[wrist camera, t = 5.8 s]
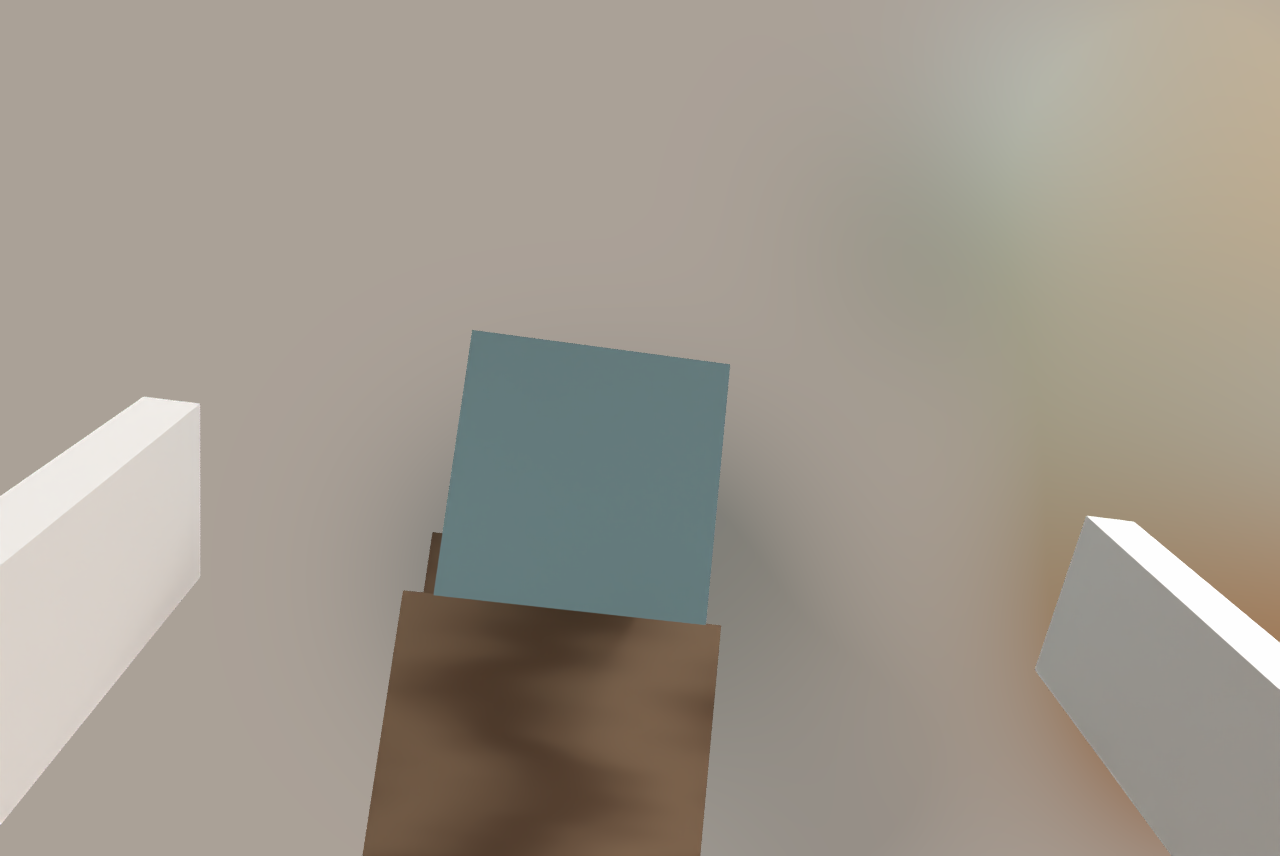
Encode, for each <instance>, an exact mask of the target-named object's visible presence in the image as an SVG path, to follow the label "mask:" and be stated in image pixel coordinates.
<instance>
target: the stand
mask: <svg viewBox="0 0 1280 856" xmlns="http://www.w3.org/2000/svg"><path fill="white" fill-rule="evenodd" d="M442 534H443V533H435V532H433V533H432V539H431V546H430V554H429V560H428V567H427V573H426V580H425V586H424V592H413V591H403V595H402V601H401V608H400V614H399V621H398V627H397V634H396V641H395V647H394V653H393V660H392V667H391V674H390V680H389V686H388V693H387V700H386V706H385V713H384V719H383V725H382V732H381V738H380V745H379V752H378V759H377V765H376V771H375V778H374V785H373V791H372V798H371V804H370V810H369V817H368V823H367V830H366V837H365V843H364V850H363V856H700V852H701V841H702V830H703V819H704V808H705V797H706V786H707V775H708V763H709V753H710V741H711V731H712V720H713V709H714V698H715V686H716V676H717V665H718V653H719V642H720V631H721V626H720V625H712V624H706V625H700V624H691V623H682V622H673V621H664V620H654V619H645V618H636V617H627V616H618V615H609V614H600V613H591V612H582V611H573V610H564V609H554V608H545V607H536V606H527V605H518V604H509V603H500V602H491V601H482V600H473V599H464V598H455V597H445V596H436V595H434V588H435V581H436V574H437V568H438V561H439V554H440V547H441V540H442Z"/></svg>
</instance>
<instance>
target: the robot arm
mask: <svg viewBox="0 0 1280 856" xmlns="http://www.w3.org/2000/svg"><path fill="white" fill-rule="evenodd" d="M199 578H200V404H198V403H190V402H182V401H174V400H166V399H158V398H150V397H142V398H141V399H140V400H138V401H137V402H135V403H134V404H132V405H131V406H129V407H128V408H127V409H125V410H124V411H122V412H121V413H120V414H118V415H117V416H115V417H114V418H112V419H111V420H109V421H108V422H106V423H105V424H104V425H102V426H101V427H99V428H98V429H96V430H95V431H94V432H92V433H91V434H89V435H88V436H86V437H85V438H83V439H82V440H81V441H79V442H78V443H76V444H75V445H73V446H72V447H70V448H69V449H68V450H66V451H65V452H63V453H62V454H60V455H59V456H57V457H56V458H55V459H53V460H52V461H50V462H49V463H47V464H46V465H44V466H43V467H42V468H40V469H39V470H37V471H36V472H34V473H33V474H32V475H30V476H29V477H27V478H26V479H24V480H23V481H21V482H20V483H19V484H17V485H16V486H14V487H13V488H11V489H10V490H8V491H7V492H6V493H4V494H3V495H1V496H0V824H2V822H3V821H4V820H5V819H6V817H7V816H8V815H9V814H10V812H11V811H12V810H13V809H14V807H15V806H16V805H17V804H18V802H19V801H20V800H21V799H22V797H23V796H24V795H25V794H26V793H27V791H28V790H29V789H30V788H31V786H32V785H33V784H34V782H35V781H36V780H37V779H38V778H39V776H40V775H41V774H42V773H43V771H44V770H45V769H46V768H47V766H48V765H49V764H50V763H51V761H52V760H53V759H54V758H55V757H56V755H57V754H58V753H59V752H60V750H61V749H62V748H63V747H64V745H65V744H66V743H67V742H68V740H69V739H70V738H71V737H72V735H73V734H74V733H75V732H76V730H77V729H78V728H79V727H80V725H81V724H82V723H83V722H84V721H85V719H86V718H87V717H88V715H89V714H90V713H91V712H92V711H93V709H94V708H95V707H96V706H97V704H98V703H99V702H100V701H101V699H102V698H103V697H104V696H105V694H106V693H107V692H108V691H109V689H110V688H111V687H112V686H113V684H114V683H115V682H116V681H117V680H118V678H119V677H120V676H121V675H122V673H123V672H124V671H125V670H126V668H127V667H128V666H129V665H130V663H131V662H132V661H133V660H134V658H135V657H136V656H137V655H138V653H139V652H140V651H141V650H142V648H143V647H144V646H145V645H146V643H147V642H148V641H149V640H150V638H151V637H152V636H153V635H154V634H155V632H156V631H157V630H158V629H159V627H160V626H161V625H162V624H163V622H164V621H165V620H166V619H167V617H168V616H169V615H170V614H171V612H172V611H173V610H174V609H175V607H176V606H177V605H178V604H179V603H180V601H181V600H182V598H183V597H184V596H185V595H186V594H187V593H188V591H189V590H190V589H191V588H192V586H193V585H194V584H195V583H196V581H197V580H198V579H199ZM1035 671H1036V672H1037V673H1038V675H1039V676H1040V677H1041V679H1042V680H1043V681H1044V683H1045V684H1046V685H1047V687H1048V688H1049V689H1050V691H1051V692H1052V693H1053V695H1054V696H1055V698H1056V699H1057V700H1058V702H1059V703H1060V705H1061V706H1062V707H1063V708H1064V710H1065V711H1066V713H1067V714H1068V715H1069V717H1070V718H1071V720H1072V721H1073V722H1074V724H1075V725H1076V726H1077V727H1078V729H1079V730H1080V732H1081V733H1082V735H1083V736H1084V737H1085V738H1086V740H1087V741H1088V743H1089V744H1090V745H1091V747H1092V748H1093V750H1094V751H1095V752H1096V753H1097V755H1098V756H1099V758H1100V759H1101V760H1102V762H1103V763H1104V764H1105V766H1106V767H1107V769H1108V770H1109V771H1110V773H1111V774H1112V775H1113V777H1114V778H1115V779H1116V781H1117V782H1118V783H1119V785H1120V786H1121V788H1122V789H1123V790H1124V792H1125V793H1126V794H1127V796H1128V797H1129V798H1130V800H1131V801H1132V803H1133V804H1134V805H1135V807H1136V808H1137V809H1138V811H1139V812H1140V813H1141V815H1142V816H1143V818H1144V819H1145V820H1146V822H1147V823H1148V824H1149V826H1150V827H1151V828H1152V830H1153V831H1154V832H1155V834H1156V835H1157V836H1158V838H1159V839H1160V841H1161V842H1162V843H1163V845H1164V846H1165V847H1166V849H1167V850H1168V852H1169V853H1170V854H1171V856H1280V643H1279V642H1278V641H1277V640H1275V639H1274V638H1273V637H1272V636H1271V635H1270V634H1268V633H1267V632H1266V631H1265V630H1264V629H1262V628H1261V627H1260V626H1259V625H1258V624H1256V623H1255V622H1254V621H1253V620H1251V619H1250V618H1249V617H1248V616H1247V615H1246V614H1244V613H1243V612H1242V611H1241V610H1240V609H1238V608H1237V607H1236V606H1235V605H1234V604H1232V603H1231V602H1230V601H1229V600H1228V599H1226V598H1225V597H1224V596H1223V595H1221V594H1220V593H1219V592H1218V591H1217V590H1215V589H1214V588H1213V587H1212V586H1211V585H1209V584H1208V583H1207V582H1206V581H1205V580H1203V579H1202V578H1201V577H1200V576H1199V575H1197V574H1196V573H1195V572H1194V571H1193V570H1191V569H1190V568H1189V567H1188V566H1187V565H1185V564H1184V563H1183V562H1182V561H1180V560H1179V559H1178V558H1177V557H1176V556H1175V555H1173V554H1172V553H1171V552H1170V551H1168V550H1167V549H1166V548H1165V547H1164V546H1162V545H1161V544H1160V543H1159V542H1158V541H1156V540H1155V539H1154V538H1153V537H1151V536H1150V535H1149V534H1148V533H1147V532H1145V531H1144V530H1143V529H1142V528H1141V527H1140V526H1138V525H1137V524H1136V523H1135V522H1131V521H1124V520H1116V519H1108V518H1100V517H1092V516H1086V518H1085V521H1084V524H1083V527H1082V530H1081V533H1080V536H1079V539H1078V542H1077V545H1076V548H1075V551H1074V554H1073V558H1072V560H1071V563H1070V566H1069V569H1068V572H1067V575H1066V578H1065V581H1064V584H1063V587H1062V590H1061V593H1060V596H1059V599H1058V602H1057V605H1056V608H1055V611H1054V614H1053V617H1052V620H1051V623H1050V626H1049V629H1048V632H1047V635H1046V638H1045V641H1044V644H1043V647H1042V650H1041V653H1040V656H1039V658H1038V661H1037V664H1036V668H1035Z"/></svg>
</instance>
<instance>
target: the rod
mask: <svg viewBox="0 0 1280 856" xmlns="http://www.w3.org/2000/svg"><path fill="white" fill-rule="evenodd" d="M729 370H730V364H722V363H715V362H708V361H700V360H693V359H684V358H678V357H670V356H663V355H655V354H647V353H639V352H633V351H625V350H618V349H610V348H603V347H595V346H588V345H580V344H573V343H565V342H558V341H550V340H543V339H535V338H528V337H520V336H513V335H505V334H498V333H490V332H483V331H475V330H472V336H471V343H470V350H469V356H468V364H467V371H466V377H465V384H464V391H463V398H462V405H461V411H460V418H459V425H458V432H457V438H456V445H455V452H454V459H453V465H452V472H451V479H450V486H449V493H448V499H447V506H446V513H445V520H444V527H443V534H442V540H441V547H440V554H439V561H438V568H437V574H436V581H435V588H434V595H436V596H445V597H455V598H464V599H473V600H482V601H491V602H500V603H509V604H518V605H527V606H536V607H545V608H554V609H564V610H573V611H582V612H591V613H600V614H609V615H618V616H627V617H636V618H645V619H654V620H664V621H673V622H682V623H691V624H700V625H706V616H707V605H708V595H709V584H710V574H711V563H712V552H713V542H714V530H715V520H716V510H717V498H718V488H719V477H720V466H721V456H722V445H723V435H724V424H725V413H726V403H727V392H728V380H729Z"/></svg>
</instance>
